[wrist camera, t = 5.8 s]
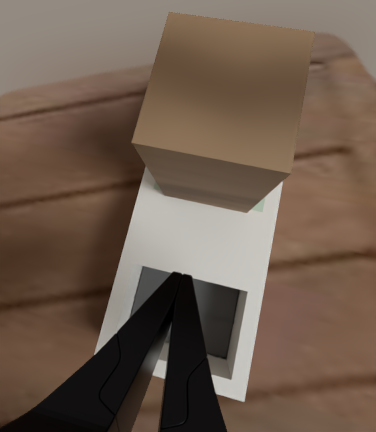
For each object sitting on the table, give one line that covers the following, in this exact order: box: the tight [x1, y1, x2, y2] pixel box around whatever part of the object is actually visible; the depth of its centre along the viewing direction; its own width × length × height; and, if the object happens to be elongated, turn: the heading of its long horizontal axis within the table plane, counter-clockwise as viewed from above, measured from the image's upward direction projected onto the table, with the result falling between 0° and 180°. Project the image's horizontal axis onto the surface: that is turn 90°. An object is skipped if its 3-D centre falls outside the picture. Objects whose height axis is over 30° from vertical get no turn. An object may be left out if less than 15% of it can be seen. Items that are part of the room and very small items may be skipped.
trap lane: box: [94, 167, 283, 402], centre depth 18 cm, size 22×10×3 cm, turn 167°
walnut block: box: [131, 12, 315, 213], centre depth 13 cm, size 6×6×8 cm
